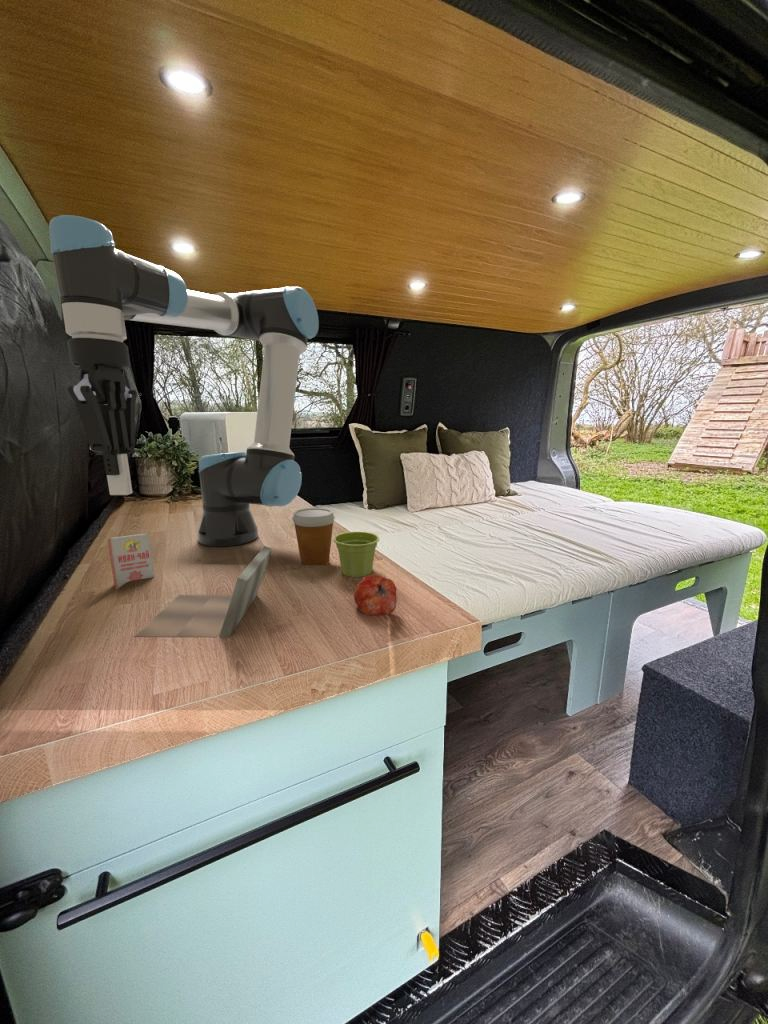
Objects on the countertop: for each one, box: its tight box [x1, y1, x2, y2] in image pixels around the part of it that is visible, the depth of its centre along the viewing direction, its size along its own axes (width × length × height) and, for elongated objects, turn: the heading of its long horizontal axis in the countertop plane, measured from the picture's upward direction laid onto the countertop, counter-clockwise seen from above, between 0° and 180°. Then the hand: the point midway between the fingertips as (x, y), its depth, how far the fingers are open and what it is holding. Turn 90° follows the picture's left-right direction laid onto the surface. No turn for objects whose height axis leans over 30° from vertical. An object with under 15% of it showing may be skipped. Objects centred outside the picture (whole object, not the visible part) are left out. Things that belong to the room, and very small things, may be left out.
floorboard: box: [134, 594, 233, 638], centre depth 67 cm, size 14×12×1 cm
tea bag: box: [107, 533, 155, 591], centre depth 80 cm, size 4×7×10 cm, turn 122°
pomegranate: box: [353, 573, 398, 616], centre depth 70 cm, size 7×7×10 cm
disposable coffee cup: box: [291, 507, 336, 566], centre depth 92 cm, size 10×10×12 cm
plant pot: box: [333, 531, 380, 578], centre depth 85 cm, size 9×9×9 cm
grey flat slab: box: [219, 545, 273, 638], centre depth 66 cm, size 14×10×1 cm
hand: (121, 493), depth 67 cm, fingers closed
